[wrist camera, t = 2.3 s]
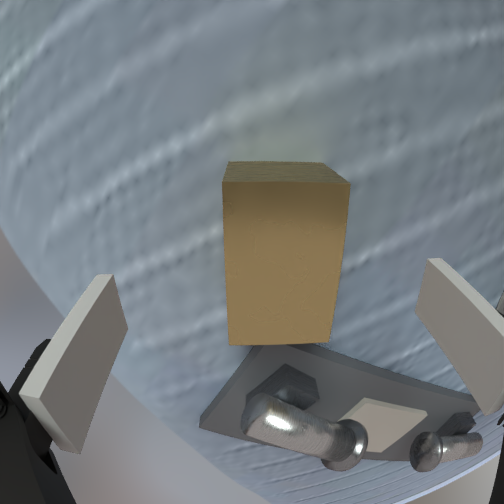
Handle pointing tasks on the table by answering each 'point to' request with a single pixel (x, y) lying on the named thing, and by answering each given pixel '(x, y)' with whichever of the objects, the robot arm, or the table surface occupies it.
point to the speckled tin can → (501, 304)
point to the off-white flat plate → (384, 421)
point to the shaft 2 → (445, 443)
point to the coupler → (282, 250)
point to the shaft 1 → (301, 421)
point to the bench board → (335, 393)
